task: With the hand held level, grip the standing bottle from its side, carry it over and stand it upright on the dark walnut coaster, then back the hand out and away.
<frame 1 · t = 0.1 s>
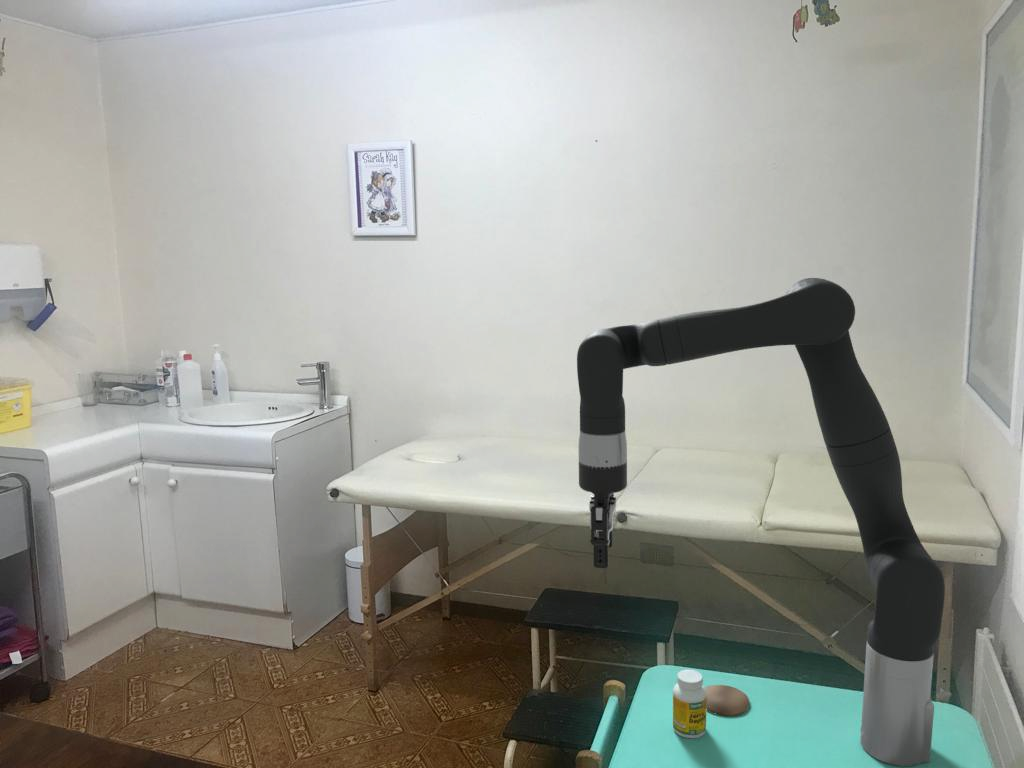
hand: (603, 556, 130), 29 cm above the table, tool pointing down, fingers open, 8 cm apart
walnut coaster: (723, 701, 140), on the table
supplement bottle: (689, 730, 133), on the table
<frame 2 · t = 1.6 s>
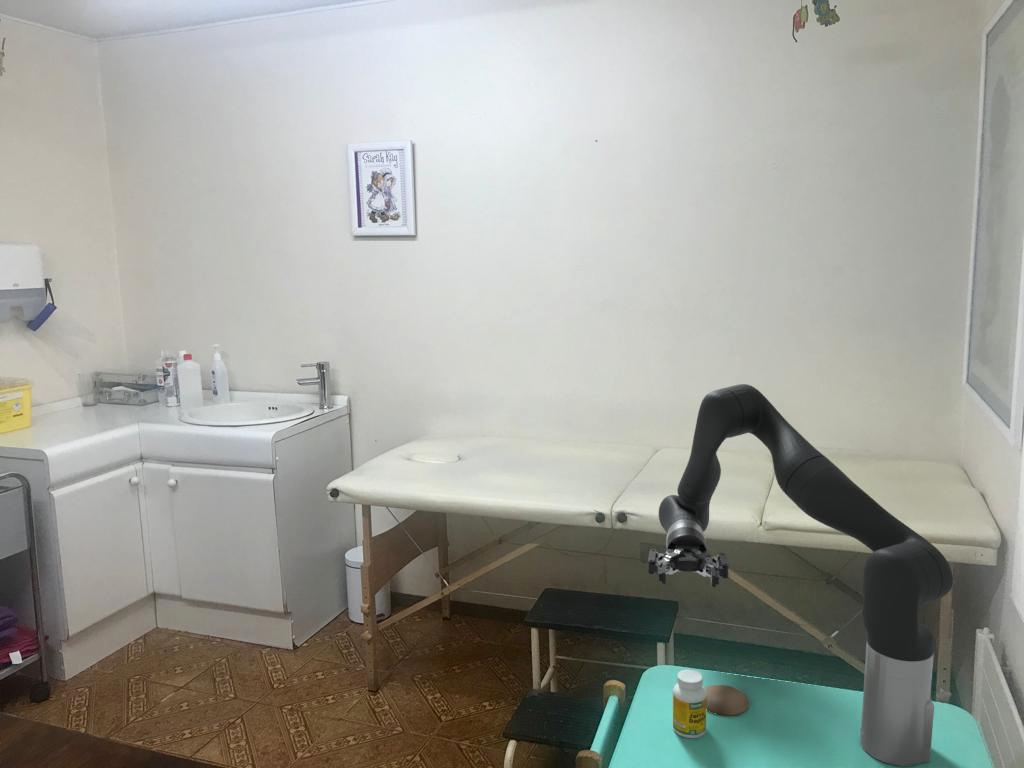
hand: (688, 580, 141), 20 cm above the table, tool horizontal, fingers open, 8 cm apart
nothing on the table moved.
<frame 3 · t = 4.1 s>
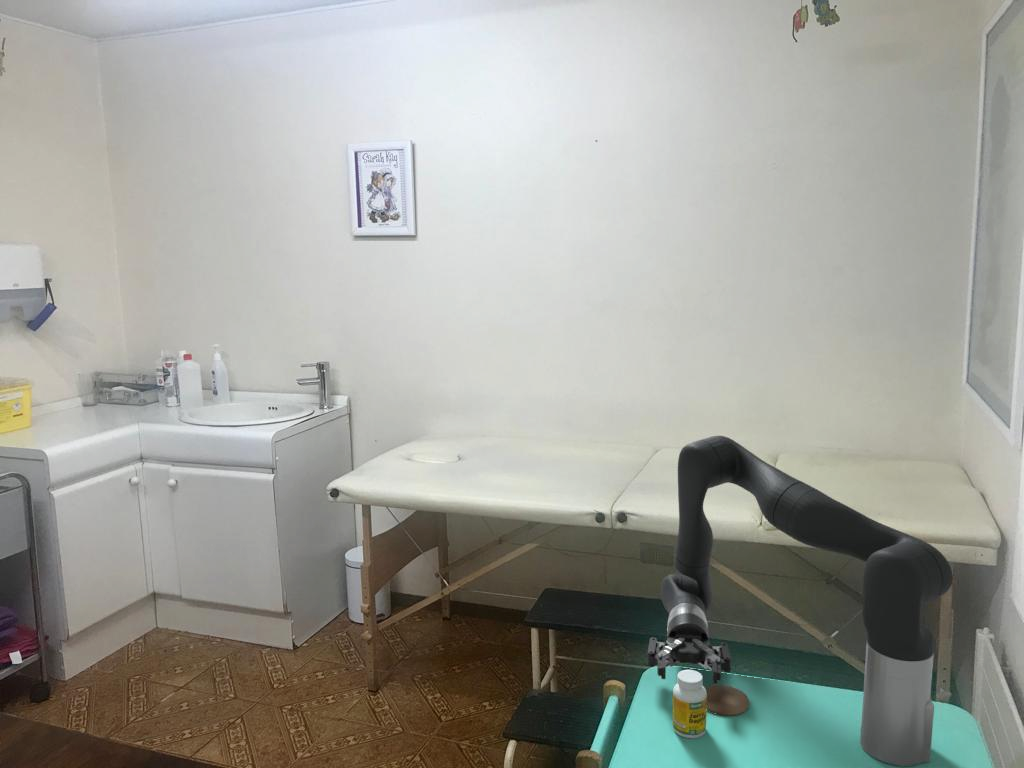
hand: (689, 676, 137), 6 cm above the table, tool horizontal, fingers open, 8 cm apart
nothing on the table moved.
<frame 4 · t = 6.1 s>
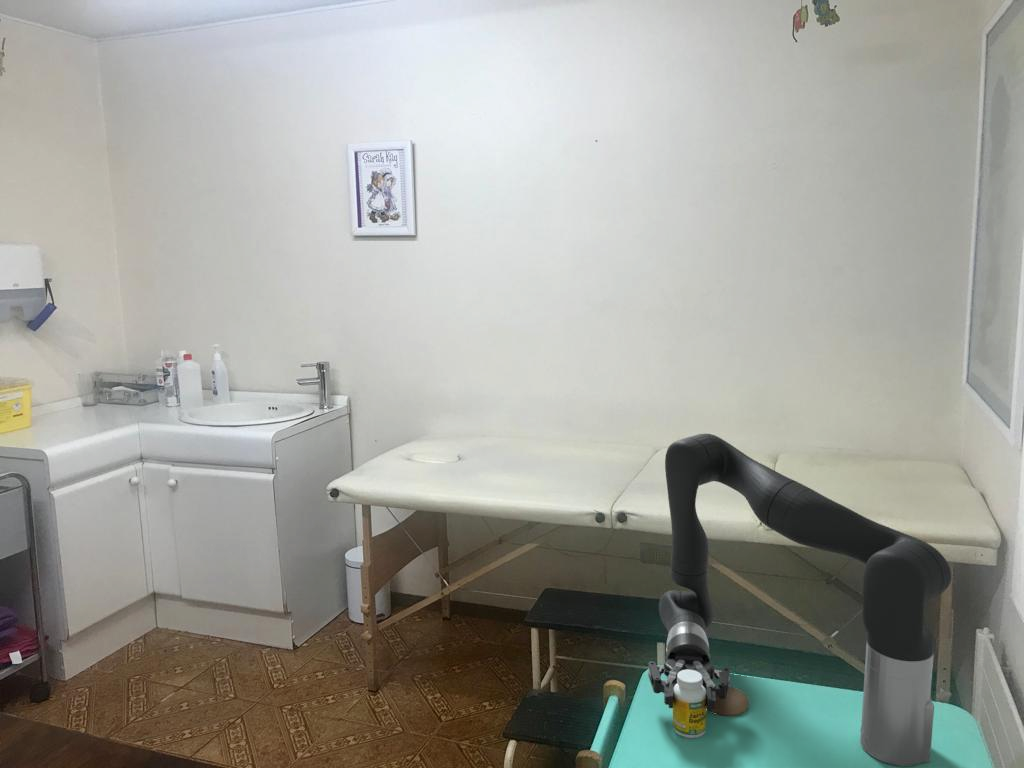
hand: (690, 704, 129), 6 cm above the table, tool horizontal, fingers closed on supplement bottle, 5 cm apart
supplement bottle: (689, 730, 133), on the table, touching gripper
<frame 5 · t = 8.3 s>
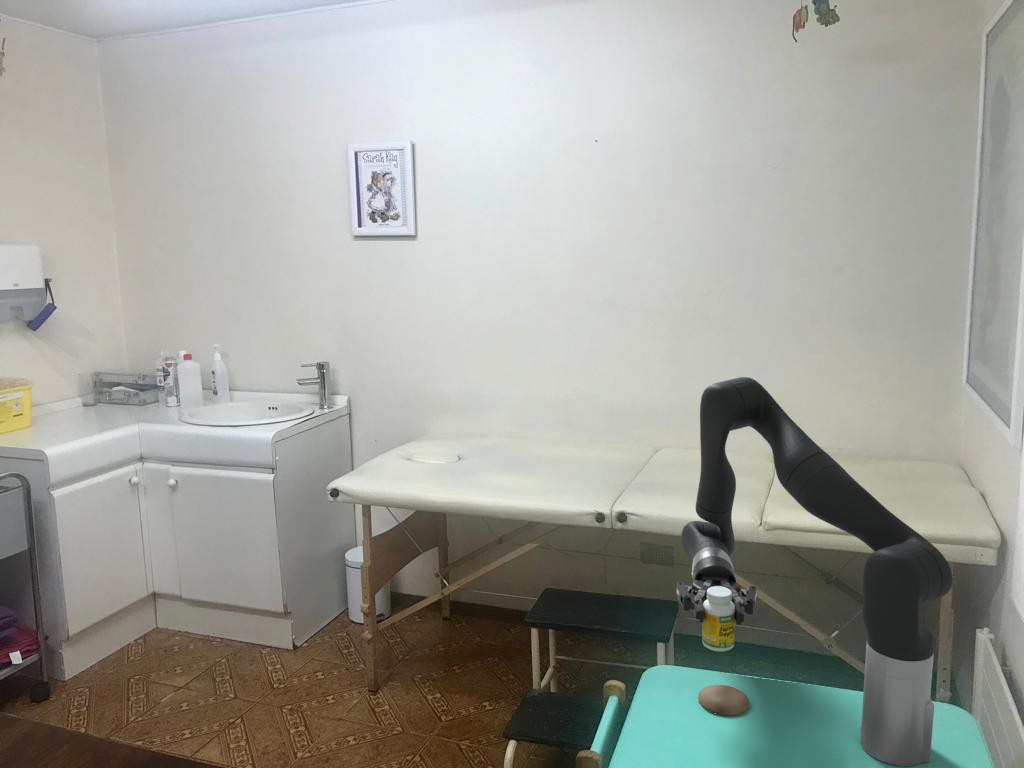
hand: (720, 618, 133), 18 cm above the table, tool horizontal, fingers closed on supplement bottle, 5 cm apart
supplement bottle: (718, 645, 136), point 11 cm above the table, touching gripper
when the fingers open (8 cm above the table, at t = 10.9 s): supplement bottle drops 1 cm, resting on walnut coaster.
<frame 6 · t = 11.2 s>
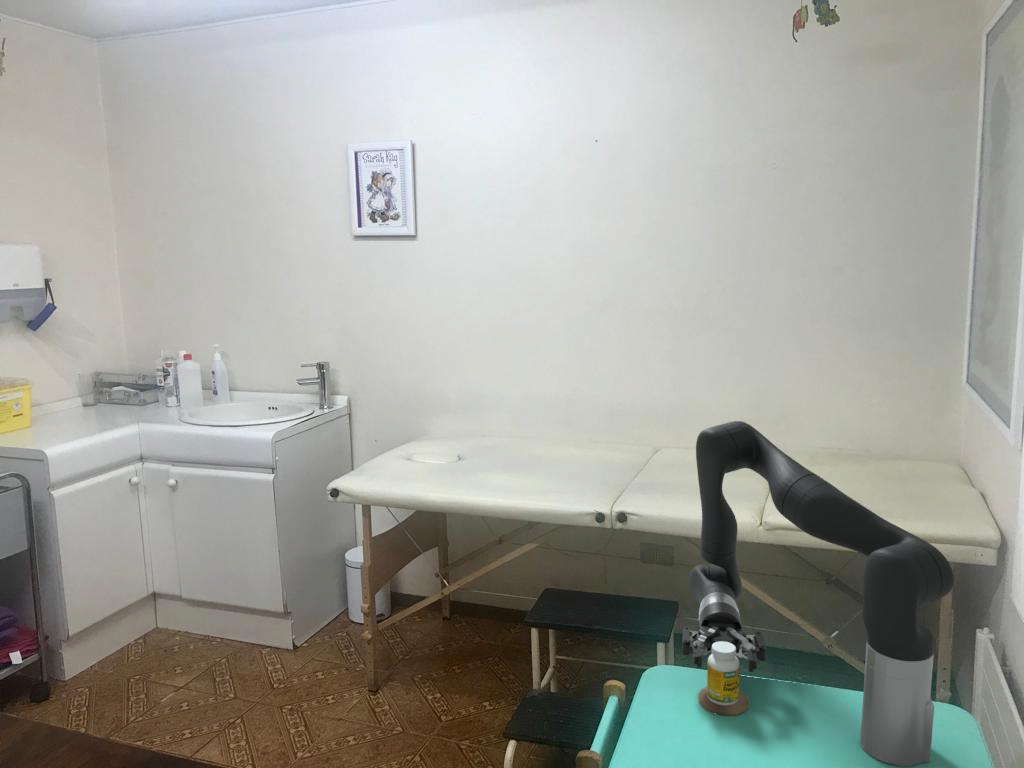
hand: (725, 664, 137), 8 cm above the table, tool horizontal, fingers open, 8 cm apart
supplement bottle: (722, 699, 140), resting on walnut coaster
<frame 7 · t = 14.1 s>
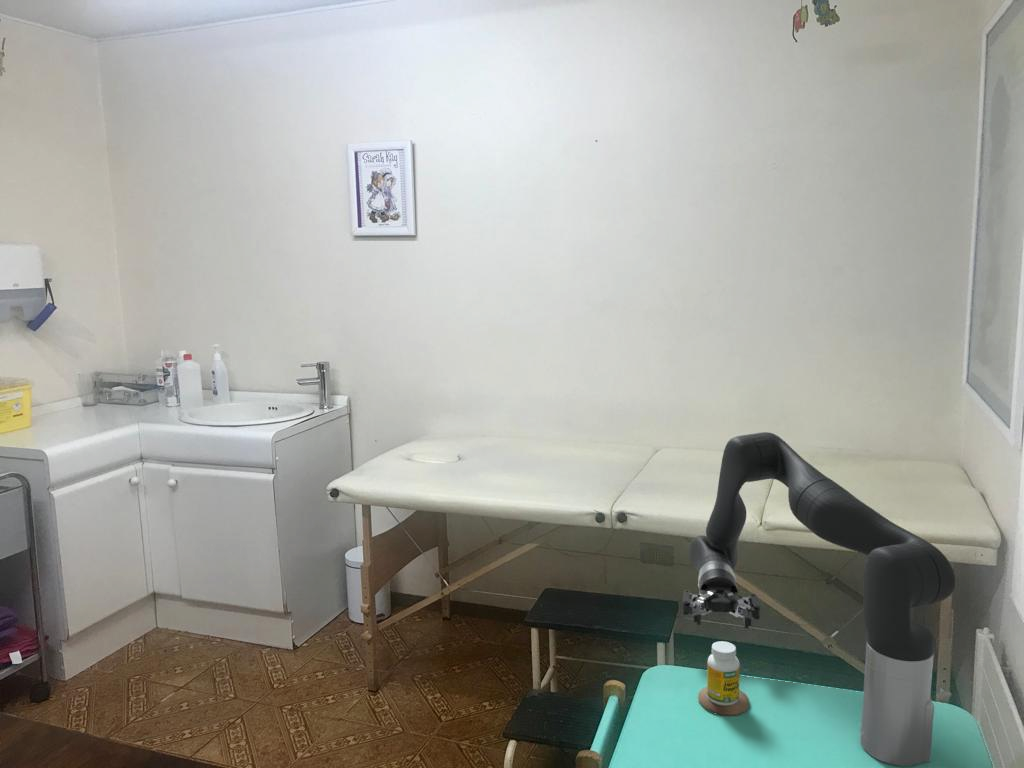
hand: (722, 622, 149), 9 cm above the table, tool horizontal, fingers open, 8 cm apart
nothing on the table moved.
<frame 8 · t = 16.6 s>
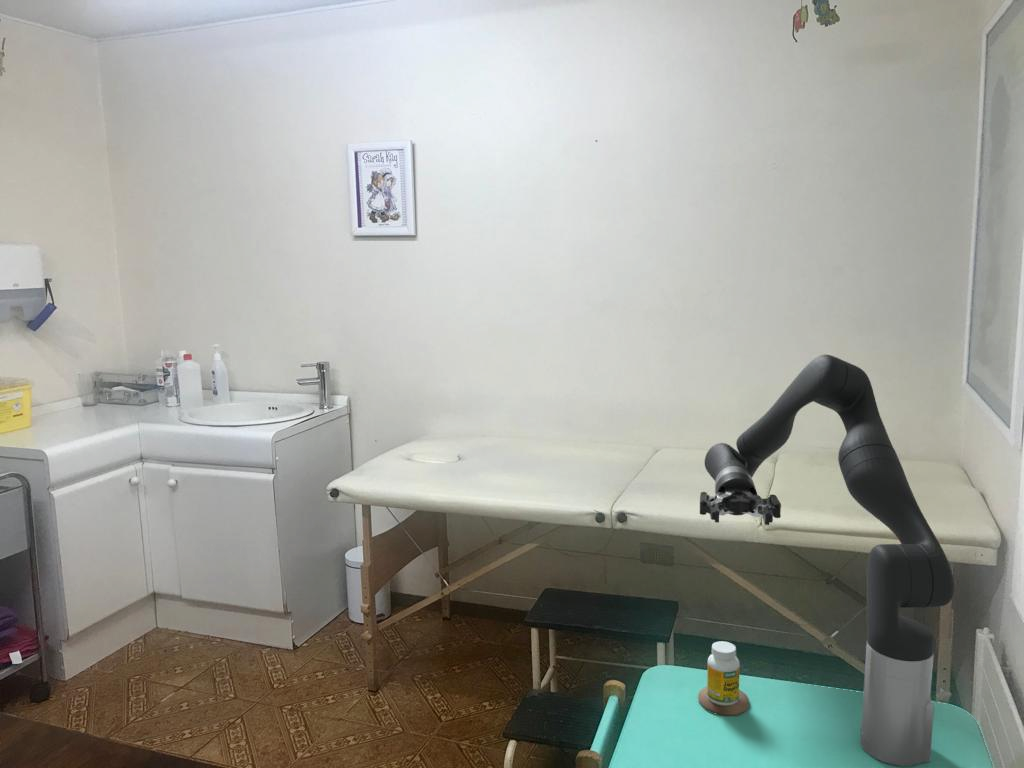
hand: (742, 518, 143), 30 cm above the table, tool horizontal, fingers open, 8 cm apart
nothing on the table moved.
at the end: supplement bottle 0.2 cm from the walnut coaster (horizontally); supplement bottle tilted 0°; supplement bottle touching walnut coaster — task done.
